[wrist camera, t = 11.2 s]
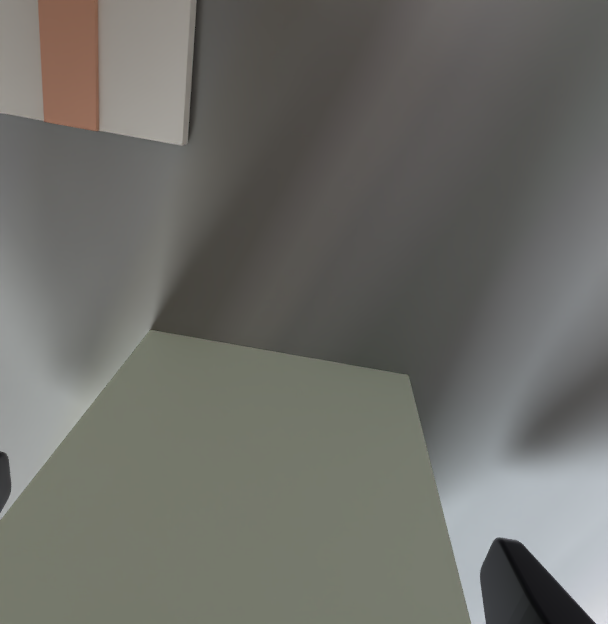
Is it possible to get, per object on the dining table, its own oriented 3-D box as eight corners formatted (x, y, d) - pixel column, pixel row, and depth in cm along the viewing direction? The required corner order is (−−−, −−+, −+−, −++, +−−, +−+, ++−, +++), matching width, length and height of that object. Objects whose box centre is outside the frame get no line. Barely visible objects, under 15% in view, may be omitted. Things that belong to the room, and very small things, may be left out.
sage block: (354, 554, 11) (377, 1132, 5) (143, 518, 11) (-102, 1056, 5) (408, 374, 9) (554, 960, 3) (150, 329, 9) (-245, 833, 3)
